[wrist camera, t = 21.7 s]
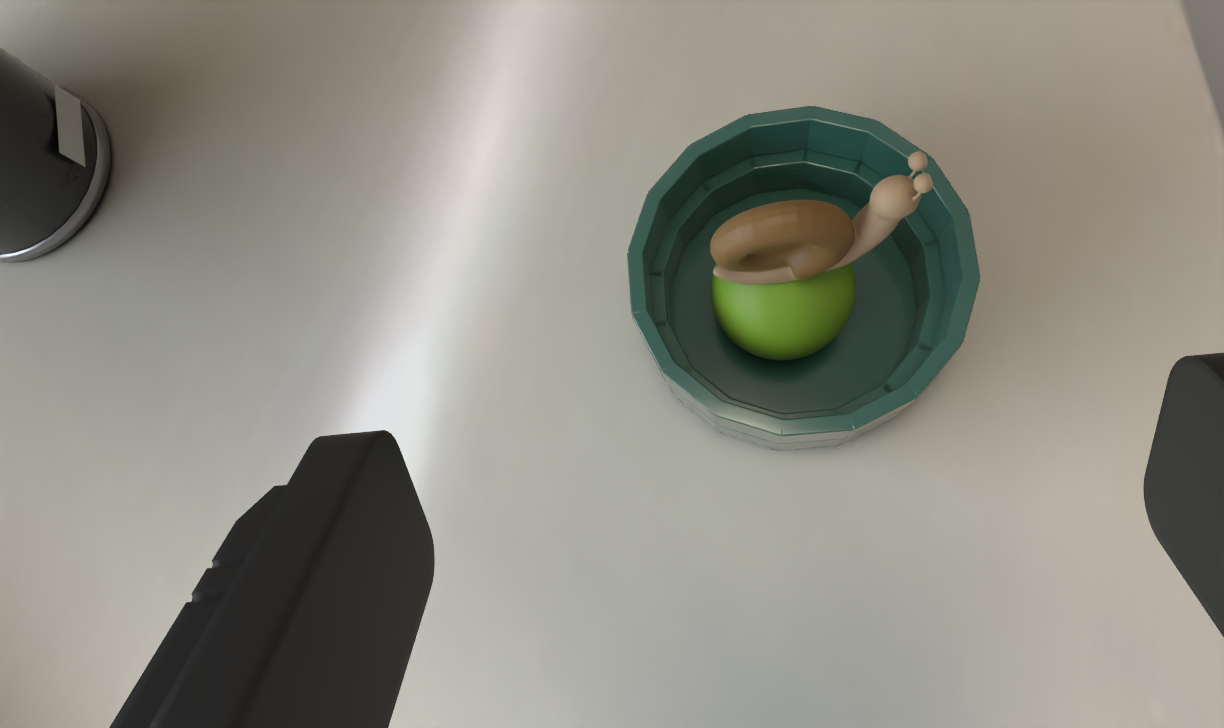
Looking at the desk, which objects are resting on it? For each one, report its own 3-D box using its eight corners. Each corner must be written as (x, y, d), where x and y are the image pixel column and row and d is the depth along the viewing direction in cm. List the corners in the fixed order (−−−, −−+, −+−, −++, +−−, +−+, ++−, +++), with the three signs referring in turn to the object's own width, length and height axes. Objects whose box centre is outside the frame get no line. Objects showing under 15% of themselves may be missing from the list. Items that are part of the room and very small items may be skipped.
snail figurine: (883, 356, 34) (957, 259, 22) (725, 382, 34) (715, 303, 23) (855, 230, 35) (911, 76, 23) (703, 259, 36) (683, 124, 24)
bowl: (657, 461, 35) (641, 448, 29) (636, 189, 37) (618, 131, 32) (962, 437, 33) (1004, 417, 28) (918, 153, 36) (948, 86, 30)
